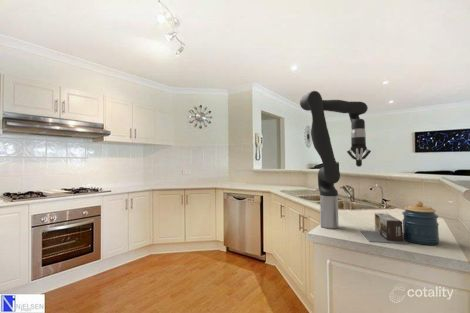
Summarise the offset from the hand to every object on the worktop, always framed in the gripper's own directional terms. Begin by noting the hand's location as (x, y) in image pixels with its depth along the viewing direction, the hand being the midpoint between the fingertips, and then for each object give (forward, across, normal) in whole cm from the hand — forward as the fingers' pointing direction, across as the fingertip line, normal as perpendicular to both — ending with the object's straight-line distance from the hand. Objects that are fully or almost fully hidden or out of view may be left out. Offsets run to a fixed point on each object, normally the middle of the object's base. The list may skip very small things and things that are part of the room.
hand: (359, 166), depth 140 cm
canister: (+33, +19, -28) cm, 47 cm away
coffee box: (+28, +6, -16) cm, 33 cm away
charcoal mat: (+33, +4, -26) cm, 42 cm away
